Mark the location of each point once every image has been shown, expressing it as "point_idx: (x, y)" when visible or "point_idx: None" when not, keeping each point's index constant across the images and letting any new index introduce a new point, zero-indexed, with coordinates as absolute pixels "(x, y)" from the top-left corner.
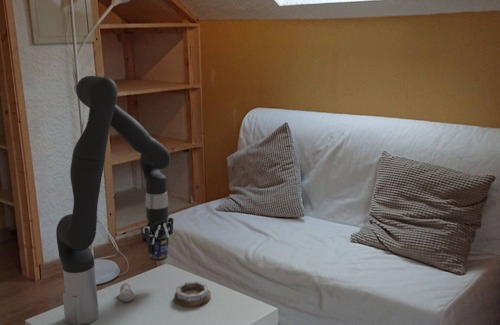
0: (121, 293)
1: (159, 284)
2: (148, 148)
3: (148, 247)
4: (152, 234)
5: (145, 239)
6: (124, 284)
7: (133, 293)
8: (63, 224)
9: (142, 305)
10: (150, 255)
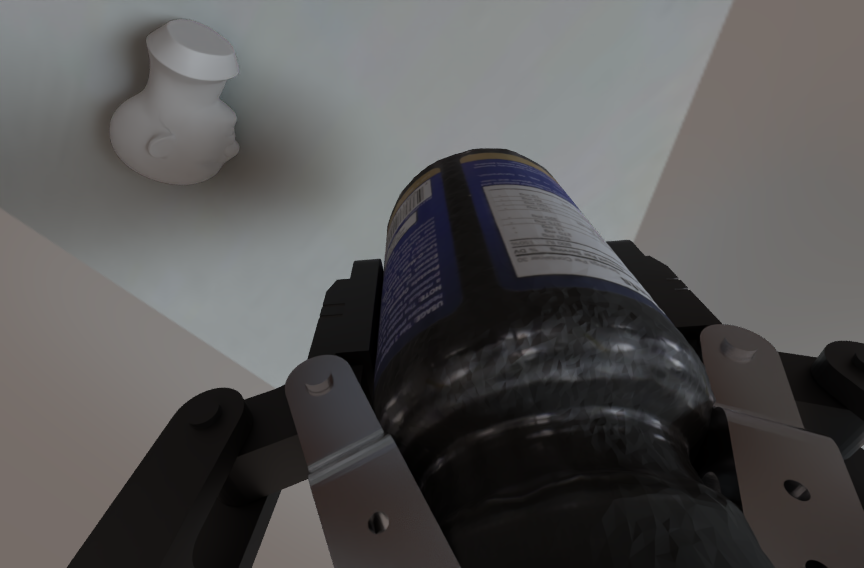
0: (114, 143)
1: (452, 140)
2: None
3: (317, 339)
4: (428, 497)
5: (217, 465)
6: (165, 70)
7: (220, 158)
8: None
9: (237, 242)
10: (390, 226)
